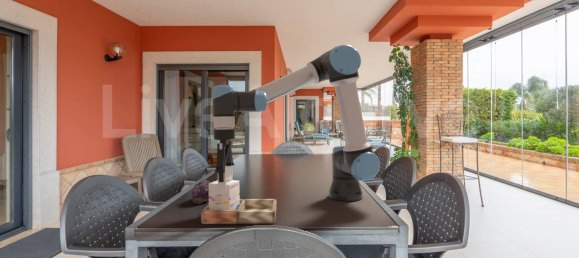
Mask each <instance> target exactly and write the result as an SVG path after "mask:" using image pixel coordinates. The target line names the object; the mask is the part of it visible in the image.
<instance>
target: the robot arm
mask: <svg viewBox="0 0 579 258" xmlns="http://www.w3.org/2000/svg"><path fill="white" fill-rule="evenodd" d="M361 65H362V57H361V54H360V52H359V51H358V50H357V48H355V47H354V46H352V45H350V44H340V45H337V46H335V47H333V48H331V49H330V50H327V51H326V52H323V54H321V55H320V56H318V57H316V58H315V59H313V60H311V61H308V62H307V64H306V65H305V66H304V67H302V68H299V69H297V70H295V71H292V72H290V73H288V74H286V75H284V76H282V77H279V78H277V79H274V80H272V81H270V82H268V83H266V84H263V85H261V86H258V87H256V88H254V89H252V90H250V91H249V90H248V91H237V90H235V88H234V86H233V85H229V84H227V85H226V84H221V85H215V86H214V87H213V88H212V113H213V115H212V117H213V119H211V122H212V123H213V128H214V129H213V139H214V140H215V141H219V143H217V145H216V147H217V150H216V161H215V162H216V163H215V164H216V165H215V170H214V173H216V174H217V175H216V176H217V180H218V191H226V180H227V179H226V178H228V177H231V176H234V175H233V167H234V166H235V162H234V160H233V149H232V140H235V139H236V131H235V127H236V126H235V125H236V124H235V123H236V122H235V121H236V120H235V113H239V112H240V113H243V114H248V113H260V112H266V110H267V107H268V104H269V103H271V102H274V101H275V100H278V99H280V98H282V97H284V96H285V97H286V96H287V95H289V94H291V93H294V92H296V91H298V90H300V89H302V88H305V87H306V86H309V85H312V84H316V85H317V84H319V83H321V82H324V81H328V80H329V84H330V85H331V86H333V88H334V91H335V95H336V96H335V97H336V102H337V106H338V112H339V118H340V123H341V127H342V133H343V138H344V143H345V145H340V146H337V145H336V146H334V147H333V148H332V154H331V156H332V157H331V158H332V179H331V183H330V186H329V189H328V198H330V199H331V200H335V201H339V202H340V201H341V202H343V201H344V202H354V201H360V200H362V199H363V198H364V196H363V190H362V185H361V183H360V181H363V182H366V181H367V182H368V181H371V180H373V179H374V178H375V177H376V176H377V174H378V173H379V172H380V169H381V161H380V158H379V157H378V156H377V154H375V153H374V151H373V147H372V146H373V145H372V143H370V142H369V141H368V140H367V135H366V129H365V124H364V118H363V114H362V113H363V112H362V108H361V103H360V98H359V93H358V87H357V81H358V80H359V78H360V75H359V69H360V67H361ZM233 178H234V177H232V178H231V179H230V180H234V179H233Z"/></svg>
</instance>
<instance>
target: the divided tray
mask: <svg viewBox="0 0 579 258" xmlns="http://www.w3.org/2000/svg"><path fill="white" fill-rule="evenodd" d="M276 215H277V198H240V206H239V208H238V210H209V203H208V204H207V205H206V206H205V207H204V208H203V209H202V210H201V211H200V224H201V225H202V224H203V225H205V224H206V225H210V224H211V225H213V224H214V225H215V224H217V225H218V224H220V225H221V224H222V225H224V224H225V225H227V224H231V225H233V224H234V225H235V224H276V217H277V216H276Z"/></svg>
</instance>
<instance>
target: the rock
mask: <svg viewBox="0 0 579 258" xmlns="http://www.w3.org/2000/svg"><path fill="white" fill-rule="evenodd" d="M209 183H212V182H211V181H210V180H208V179H201V180H199V181H198V182H197V183H195V184H194V186H193V189H192V190H191V199H192V203H193V204H195V205H201V204H202V203H204V202H207V203H208V202H209Z"/></svg>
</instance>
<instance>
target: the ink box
mask: <svg viewBox="0 0 579 258" xmlns="http://www.w3.org/2000/svg"><path fill="white" fill-rule="evenodd" d="M233 176H234V175H233ZM233 176H231V177H228V178H226V179H227V180H226V191H218V179H216V180H215V181H212V182H211V183H209V201H208V204H209V210H238V208H239V206H240V199H241V198H240V194H241V193H240V180H235V179H233V180H230V179H231V178H232V177H233ZM233 178H234V177H233Z"/></svg>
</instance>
